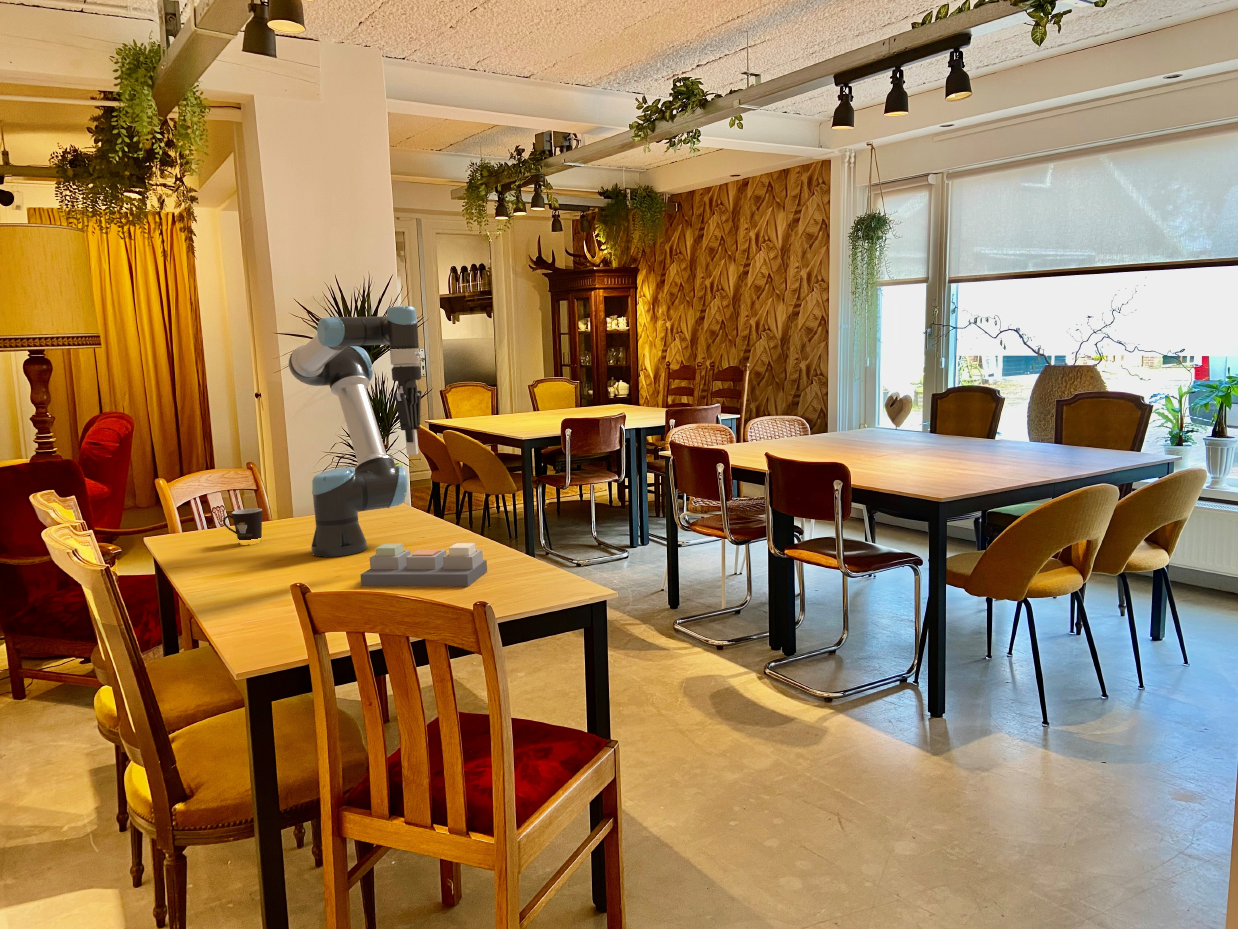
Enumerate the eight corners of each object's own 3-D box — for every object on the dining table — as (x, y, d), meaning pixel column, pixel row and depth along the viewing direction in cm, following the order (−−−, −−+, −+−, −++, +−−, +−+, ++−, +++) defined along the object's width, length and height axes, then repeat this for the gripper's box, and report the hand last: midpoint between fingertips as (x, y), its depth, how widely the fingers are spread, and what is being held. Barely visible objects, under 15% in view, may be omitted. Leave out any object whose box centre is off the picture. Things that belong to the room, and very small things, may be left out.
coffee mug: (271, 541, 273) (268, 509, 272) (246, 547, 266) (243, 514, 264) (248, 538, 279) (244, 507, 278) (223, 544, 272) (219, 512, 271)
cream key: (449, 560, 215) (448, 547, 214) (457, 555, 220) (456, 543, 219) (469, 560, 214) (468, 547, 214) (476, 555, 219) (475, 543, 218)
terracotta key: (413, 567, 217) (412, 554, 216) (421, 562, 222) (420, 549, 221) (432, 567, 216) (431, 554, 215) (440, 562, 221) (439, 549, 220)
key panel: (361, 586, 213) (359, 562, 213) (386, 571, 227) (384, 548, 226) (468, 586, 208) (466, 561, 208) (487, 571, 222) (485, 548, 221)
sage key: (376, 560, 218) (375, 548, 218) (385, 556, 223) (384, 543, 223) (395, 560, 217) (394, 548, 217) (404, 556, 222) (403, 543, 222)
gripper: (409, 365, 227) (416, 456, 230) (428, 364, 240) (435, 450, 243) (381, 366, 229) (389, 457, 232) (402, 365, 241) (409, 451, 244)
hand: (412, 454), depth 237 cm, fingers closed
